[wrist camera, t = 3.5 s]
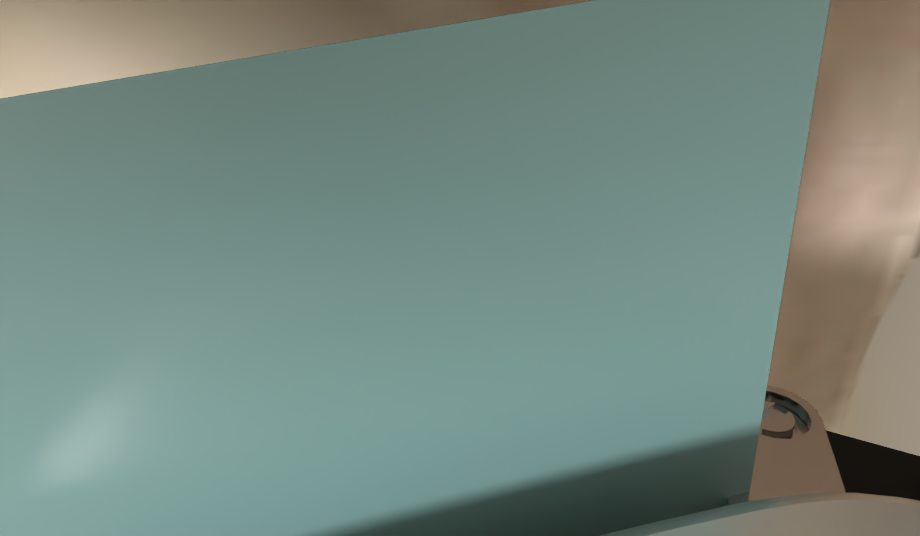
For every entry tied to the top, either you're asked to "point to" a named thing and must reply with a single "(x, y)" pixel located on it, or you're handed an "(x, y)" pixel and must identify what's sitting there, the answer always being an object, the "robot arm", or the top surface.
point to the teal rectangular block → (406, 278)
